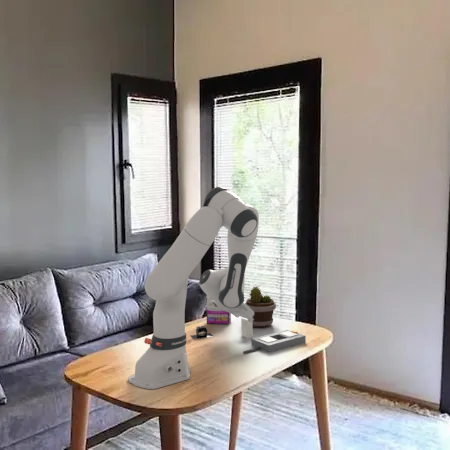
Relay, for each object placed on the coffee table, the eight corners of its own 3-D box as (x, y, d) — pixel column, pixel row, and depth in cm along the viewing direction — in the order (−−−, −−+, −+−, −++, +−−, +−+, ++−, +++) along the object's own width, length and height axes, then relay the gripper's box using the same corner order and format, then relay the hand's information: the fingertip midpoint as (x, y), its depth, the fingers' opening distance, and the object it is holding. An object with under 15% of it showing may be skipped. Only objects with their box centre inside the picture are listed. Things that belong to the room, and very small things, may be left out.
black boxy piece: (212, 333, 236) (212, 323, 235) (217, 338, 229) (217, 327, 229) (185, 336, 232) (185, 326, 231) (190, 341, 225) (190, 330, 224)
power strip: (252, 357, 202) (252, 348, 202) (234, 350, 211) (234, 341, 210) (305, 342, 219) (305, 333, 218) (287, 336, 227) (287, 328, 227)
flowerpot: (259, 319, 256) (258, 278, 254) (283, 325, 244) (282, 282, 242) (237, 325, 246) (237, 283, 244) (261, 332, 235) (261, 287, 233)
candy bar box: (231, 321, 252) (230, 288, 250) (229, 324, 247) (229, 290, 246) (208, 321, 254) (207, 287, 252) (206, 323, 249) (205, 289, 247)
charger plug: (247, 338, 226) (246, 320, 225) (241, 336, 229) (241, 318, 229) (252, 336, 228) (252, 318, 227) (246, 334, 231) (246, 316, 230)
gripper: (246, 298, 214) (264, 317, 220) (216, 289, 230) (234, 307, 237) (237, 310, 211) (256, 329, 218) (208, 301, 228) (227, 319, 235)
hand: (245, 318), depth 228 cm, fingers open, 8 cm apart
